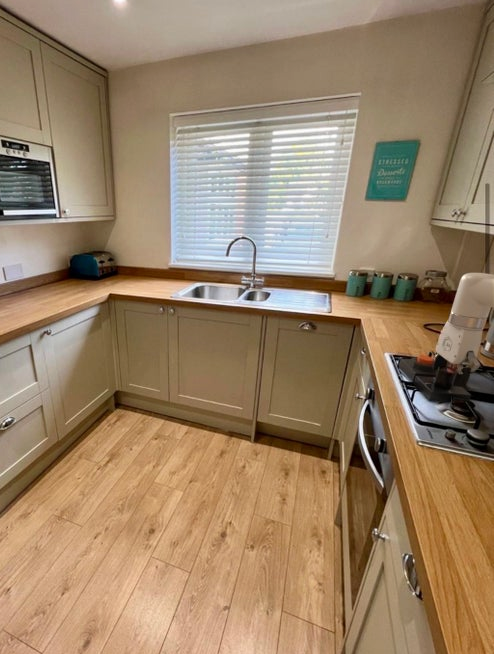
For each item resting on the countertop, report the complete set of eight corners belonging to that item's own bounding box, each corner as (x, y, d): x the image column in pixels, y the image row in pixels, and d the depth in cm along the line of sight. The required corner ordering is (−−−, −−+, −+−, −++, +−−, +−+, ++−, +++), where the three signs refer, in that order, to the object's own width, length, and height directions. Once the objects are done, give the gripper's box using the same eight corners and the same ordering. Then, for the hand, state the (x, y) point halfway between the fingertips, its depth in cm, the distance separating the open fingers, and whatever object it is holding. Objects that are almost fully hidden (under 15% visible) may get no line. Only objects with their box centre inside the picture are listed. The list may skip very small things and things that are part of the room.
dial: (429, 380, 97) (435, 364, 95) (446, 381, 97) (452, 365, 95) (437, 388, 93) (443, 371, 91) (455, 389, 93) (461, 373, 91)
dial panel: (448, 387, 100) (452, 378, 98) (467, 404, 91) (471, 394, 90) (413, 384, 101) (415, 375, 100) (428, 400, 93) (431, 391, 92)
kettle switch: (428, 360, 106) (429, 355, 105) (434, 366, 102) (436, 361, 102) (414, 359, 107) (416, 354, 106) (420, 365, 103) (422, 360, 102)
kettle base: (427, 369, 110) (431, 355, 108) (444, 384, 101) (449, 370, 99) (398, 367, 111) (402, 353, 110) (412, 382, 102) (417, 367, 100)
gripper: (433, 310, 96) (418, 363, 102) (472, 331, 80) (451, 392, 86) (462, 311, 95) (445, 365, 101) (507, 332, 79) (483, 394, 85)
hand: (447, 377), depth 93 cm, fingers open, 9 cm apart
